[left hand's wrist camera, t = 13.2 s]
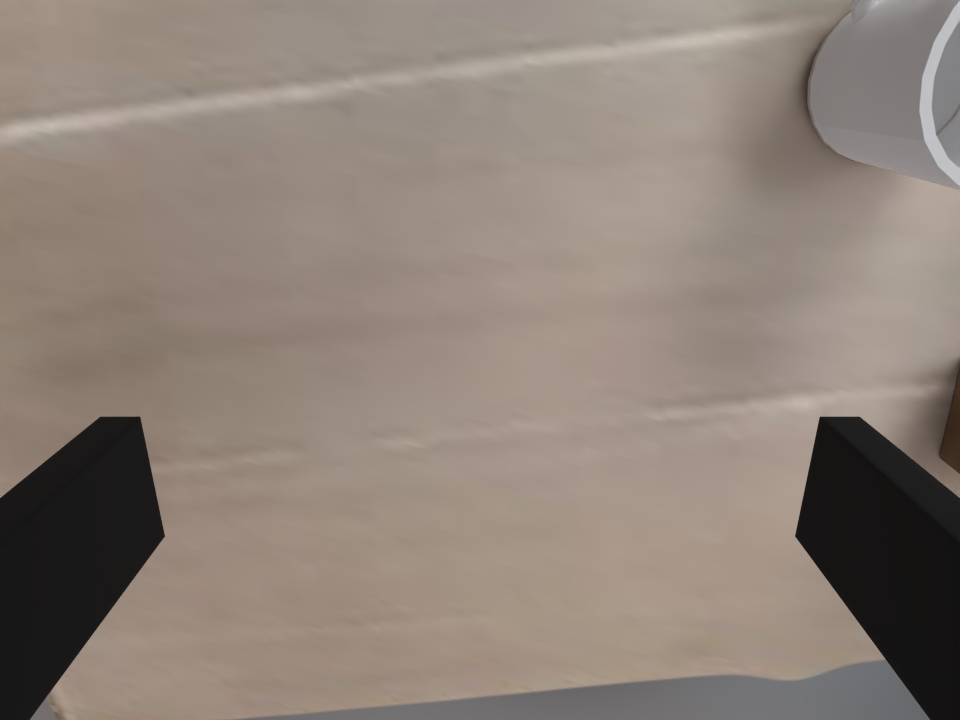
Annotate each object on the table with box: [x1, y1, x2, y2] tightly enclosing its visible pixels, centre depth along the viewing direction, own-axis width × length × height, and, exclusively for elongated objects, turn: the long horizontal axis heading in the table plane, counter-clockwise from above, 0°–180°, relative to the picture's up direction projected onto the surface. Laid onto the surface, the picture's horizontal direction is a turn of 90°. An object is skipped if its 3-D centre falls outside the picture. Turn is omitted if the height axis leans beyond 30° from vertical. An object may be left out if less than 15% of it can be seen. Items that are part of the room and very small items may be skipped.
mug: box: [807, 0, 960, 190], centre depth 28 cm, size 11×9×10 cm
